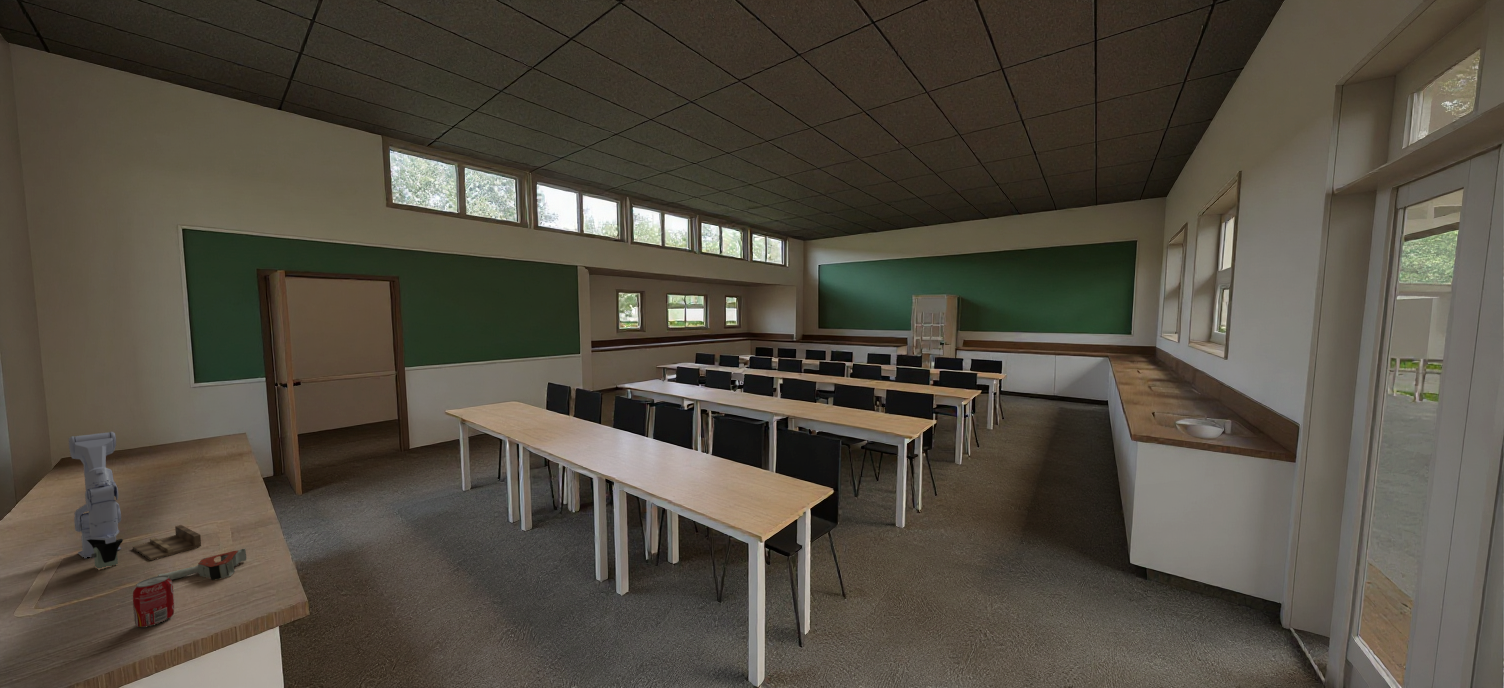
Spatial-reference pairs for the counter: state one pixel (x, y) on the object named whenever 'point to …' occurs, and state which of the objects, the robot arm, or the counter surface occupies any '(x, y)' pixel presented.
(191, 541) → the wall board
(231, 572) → the tape dispenser
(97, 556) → the cabinet block
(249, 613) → the counter surface
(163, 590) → the soda can
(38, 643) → the counter surface
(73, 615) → the counter surface
